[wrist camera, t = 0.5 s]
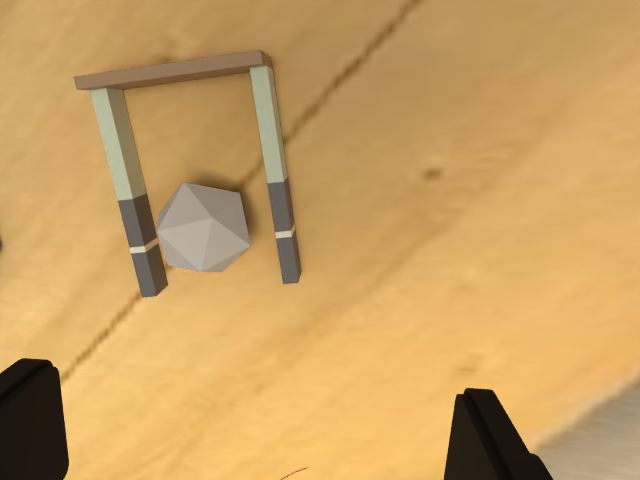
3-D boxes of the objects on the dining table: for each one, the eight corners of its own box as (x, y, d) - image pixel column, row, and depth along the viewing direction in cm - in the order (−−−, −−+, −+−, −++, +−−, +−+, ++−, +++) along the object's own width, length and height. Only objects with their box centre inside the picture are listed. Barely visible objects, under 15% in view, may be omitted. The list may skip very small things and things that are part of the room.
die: (158, 212, 46) (146, 292, 40) (169, 151, 40) (157, 234, 34) (236, 225, 49) (235, 301, 43) (257, 170, 43) (260, 250, 37)
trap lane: (104, 80, 42) (73, 76, 37) (270, 57, 40) (260, 50, 36) (154, 286, 47) (133, 305, 43) (301, 271, 46) (296, 290, 41)
